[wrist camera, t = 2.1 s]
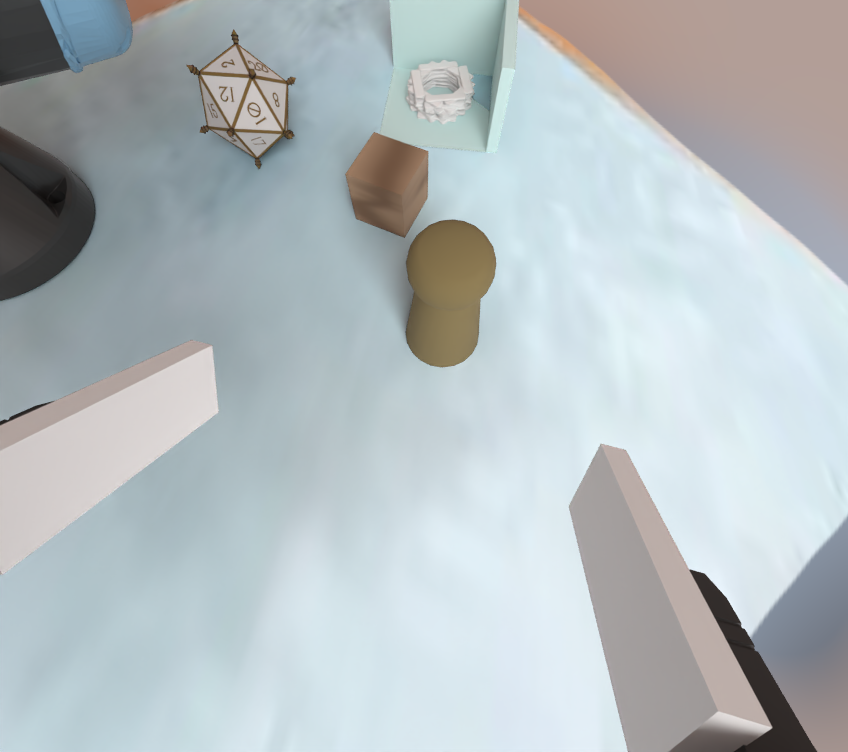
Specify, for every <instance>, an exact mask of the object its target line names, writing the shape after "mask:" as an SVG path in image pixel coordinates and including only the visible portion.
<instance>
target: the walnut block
mask: <svg viewBox="0 0 848 752" xmlns="http://www.w3.org/2000/svg"><path fill="white" fill-rule="evenodd" d="M345 175H346V179H347V183H348V187H349V191H350V195H351V199H352V204H353V208H354V212H355V216H356V219H358V220H361V221H363V222H366V223H368V224H371V225H373V226H376V227H379V228H381V229H384V230H386V231H389V232H391V233H394V234H397V235H399V236H402V237H404V238H405V236H406V234H407V233H408V231H409V229H410V227H411V226H412V224H413V222H414V221H415V219H416V217H417V215H418V214H419V212H420V210H421V208H422V207H423V205H424V203H425V201H426V200H427V194H428V151H426V150H423V149H420V148H417V147H415V146H412V145H409V144H406V143H403V142H401V141H398V140H395V139H392V138H389V137H386V136H384V135H381V134H378V133H375V132H374V133H373V134H372V136H371V137H370V139H369V140H368V142H367V143H366V145H365V146H364V148H363V149H362V151H361V152H360V153H359V155H358V156H357V158H356V159H355V161H354V162H353V164H352V165H351V167H350V168H349V170H348V171H347V173H346V174H345Z"/></svg>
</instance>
